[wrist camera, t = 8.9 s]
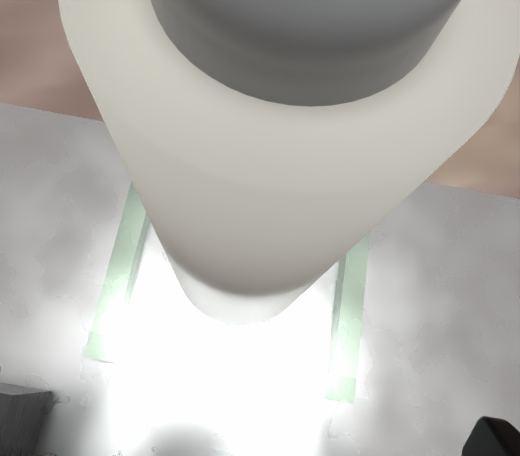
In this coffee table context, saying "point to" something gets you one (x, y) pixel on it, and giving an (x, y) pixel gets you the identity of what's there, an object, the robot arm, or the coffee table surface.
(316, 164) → the cream bottle
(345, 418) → the plate
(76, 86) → the coffee table surface
